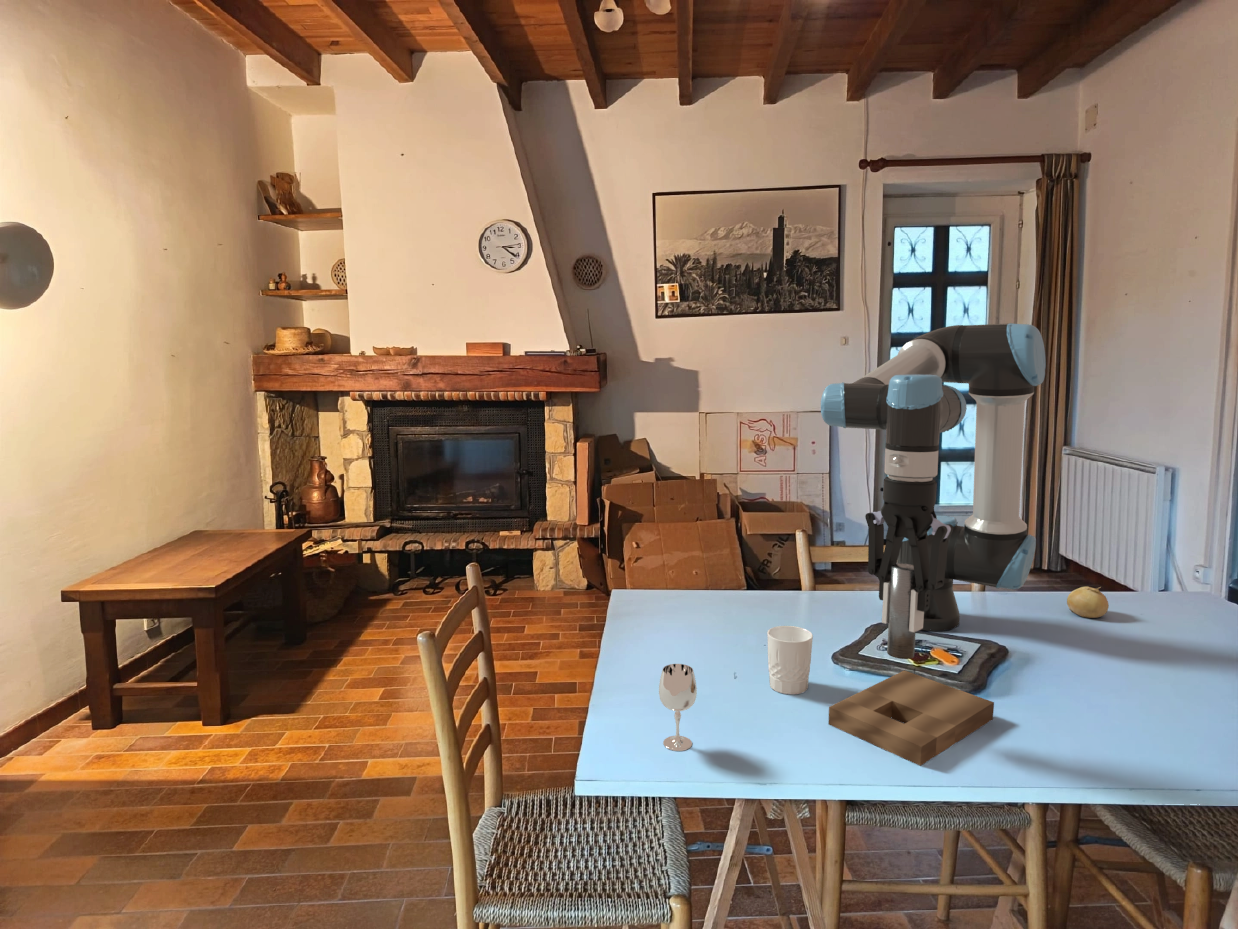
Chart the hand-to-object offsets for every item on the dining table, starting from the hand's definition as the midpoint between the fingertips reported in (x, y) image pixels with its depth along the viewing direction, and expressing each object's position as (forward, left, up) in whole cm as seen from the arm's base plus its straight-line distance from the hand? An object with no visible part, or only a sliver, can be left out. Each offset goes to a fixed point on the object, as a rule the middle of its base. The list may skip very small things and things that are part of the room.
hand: (902, 625), depth 118 cm
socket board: (0, +4, -17) cm, 18 cm away
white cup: (-21, -1, -18) cm, 28 cm away
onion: (-2, +80, -18) cm, 82 cm away
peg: (0, 0, -5) cm, 5 cm away
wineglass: (-19, -30, -18) cm, 40 cm away
